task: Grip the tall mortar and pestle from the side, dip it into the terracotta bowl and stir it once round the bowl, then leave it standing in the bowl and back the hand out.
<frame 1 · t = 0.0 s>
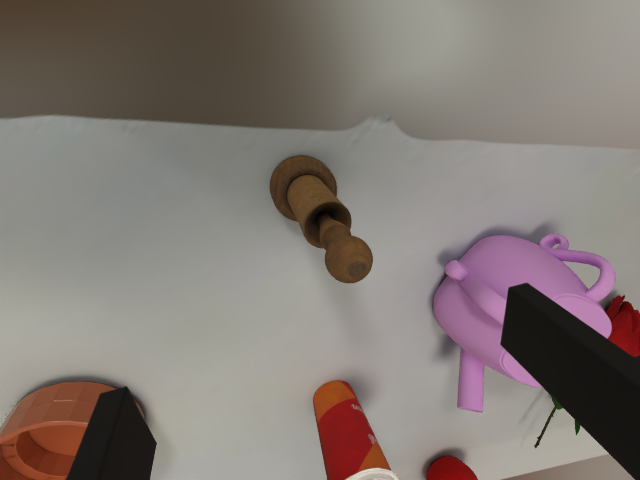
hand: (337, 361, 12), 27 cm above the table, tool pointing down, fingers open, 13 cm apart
bowl: (82, 420, 43), on the table
flower: (563, 361, 62), on the table
fruit: (439, 463, 66), on the table
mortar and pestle: (300, 185, 37), on the table
teapot: (479, 296, 50), on the table
coffee cup: (332, 394, 52), on the table
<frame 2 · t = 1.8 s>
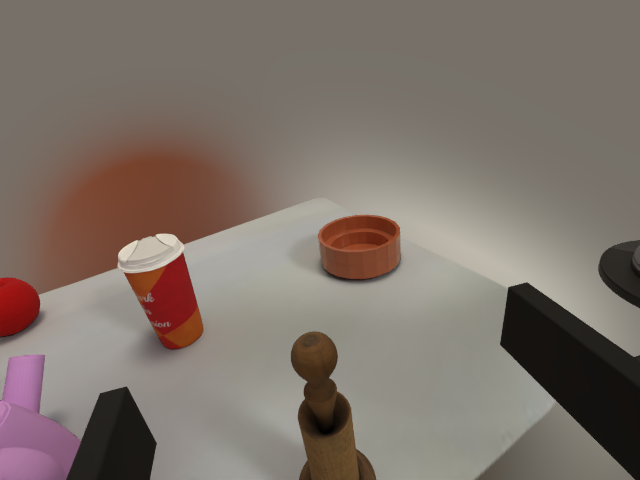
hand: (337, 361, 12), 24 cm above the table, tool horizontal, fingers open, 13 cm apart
bowl: (360, 260, 65), on the table
fruit: (19, 327, 60), on the table
coffee cup: (183, 335, 53), on the table
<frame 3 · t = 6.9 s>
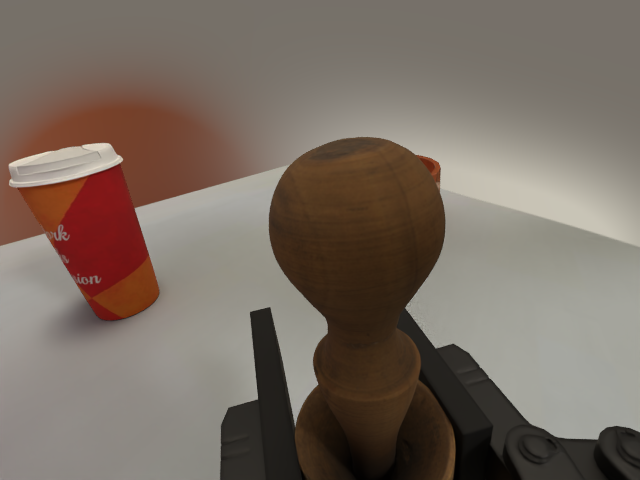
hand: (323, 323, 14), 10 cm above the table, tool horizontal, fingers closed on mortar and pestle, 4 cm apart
bowl: (383, 211, 48), on the table
coffee cup: (129, 303, 36), on the table
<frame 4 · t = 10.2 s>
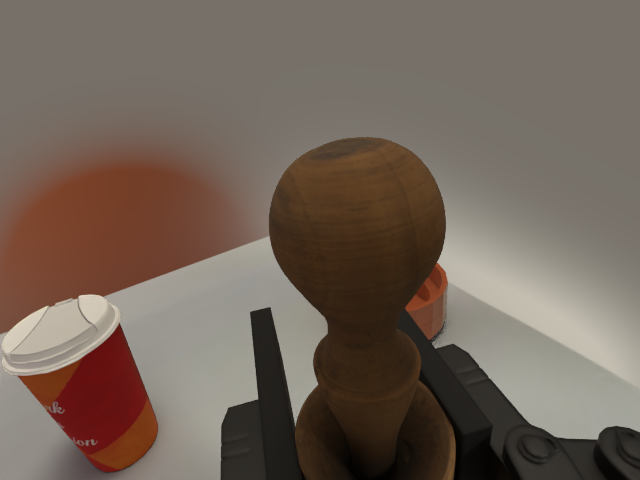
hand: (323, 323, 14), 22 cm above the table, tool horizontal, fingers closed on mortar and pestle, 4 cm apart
bowl: (388, 314, 47), on the table
coffee cup: (127, 442, 35), on the table
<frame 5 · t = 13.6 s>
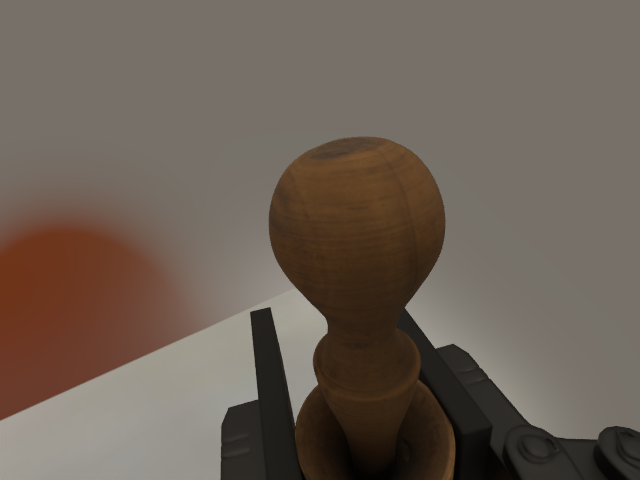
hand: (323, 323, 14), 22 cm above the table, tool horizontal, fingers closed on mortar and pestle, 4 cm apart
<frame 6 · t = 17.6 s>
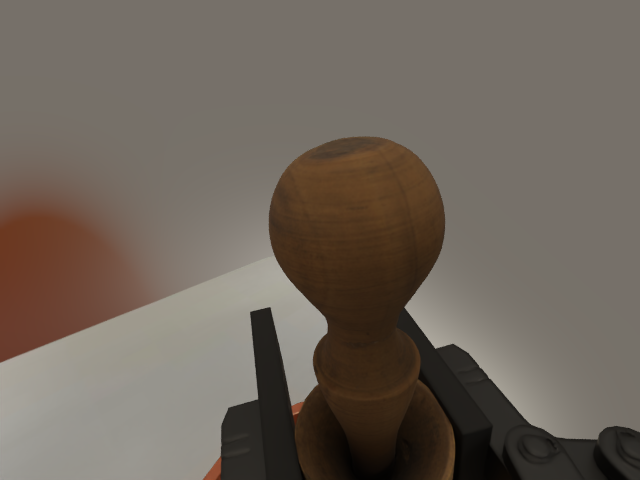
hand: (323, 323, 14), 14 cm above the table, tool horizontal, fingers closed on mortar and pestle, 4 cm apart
when the fingers open (11 cm above the table, at t = 20.4 s): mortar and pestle stays where it is, resting on bowl.
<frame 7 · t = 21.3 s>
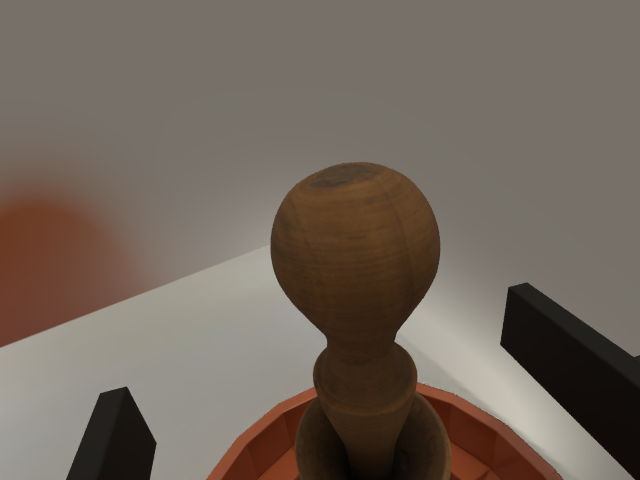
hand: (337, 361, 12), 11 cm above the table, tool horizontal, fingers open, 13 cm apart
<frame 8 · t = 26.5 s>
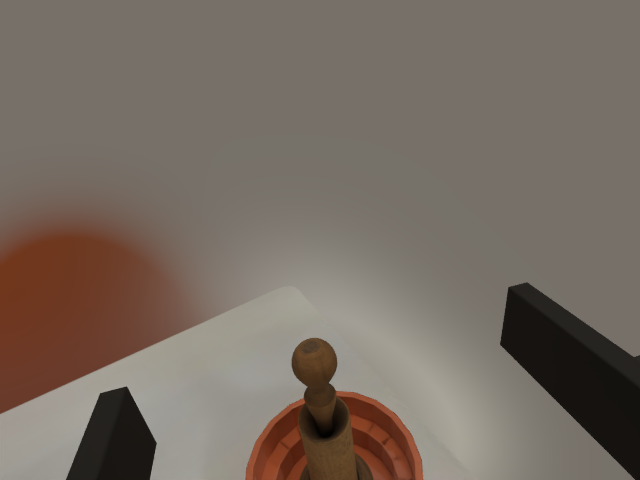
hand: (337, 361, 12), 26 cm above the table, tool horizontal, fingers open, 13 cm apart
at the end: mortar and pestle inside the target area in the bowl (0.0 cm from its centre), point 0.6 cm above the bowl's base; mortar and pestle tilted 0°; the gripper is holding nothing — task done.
